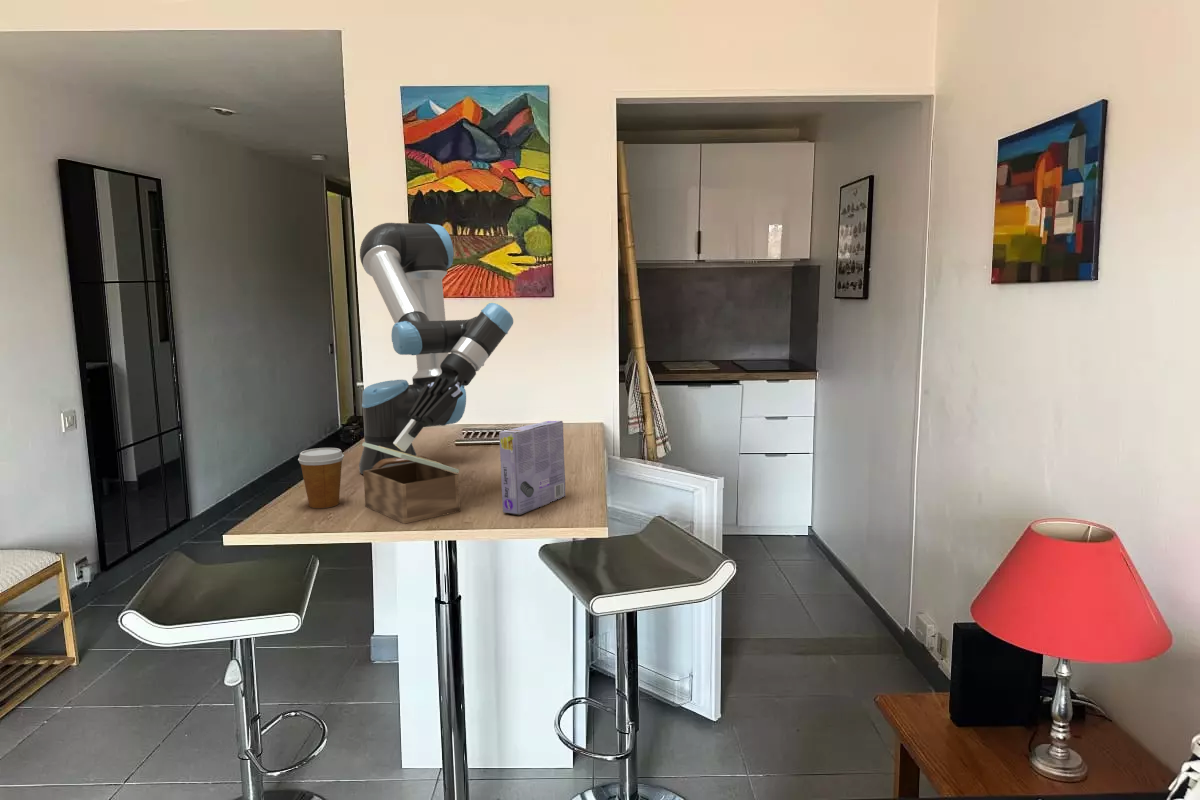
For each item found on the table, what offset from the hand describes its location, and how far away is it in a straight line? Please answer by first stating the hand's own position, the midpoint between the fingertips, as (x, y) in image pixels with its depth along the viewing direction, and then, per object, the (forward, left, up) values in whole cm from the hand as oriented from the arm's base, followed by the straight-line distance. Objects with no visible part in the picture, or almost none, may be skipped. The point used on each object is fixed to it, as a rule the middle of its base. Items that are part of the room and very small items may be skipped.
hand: (398, 447), depth 167 cm
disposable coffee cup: (-17, -10, -14) cm, 25 cm away
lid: (0, +2, -3) cm, 4 cm away
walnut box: (0, +2, -14) cm, 14 cm away
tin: (-14, +8, -14) cm, 22 cm away
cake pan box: (+16, +24, -14) cm, 32 cm away
